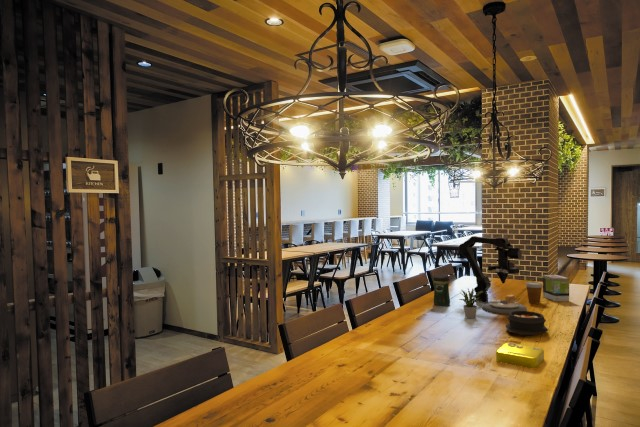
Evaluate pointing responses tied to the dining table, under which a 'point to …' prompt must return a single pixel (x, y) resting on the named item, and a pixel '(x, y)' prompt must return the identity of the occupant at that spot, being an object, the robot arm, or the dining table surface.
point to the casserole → (526, 323)
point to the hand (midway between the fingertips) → (503, 283)
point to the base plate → (501, 310)
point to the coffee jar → (441, 290)
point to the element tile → (520, 355)
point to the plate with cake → (505, 303)
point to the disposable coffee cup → (534, 291)
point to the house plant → (470, 304)
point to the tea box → (556, 287)
